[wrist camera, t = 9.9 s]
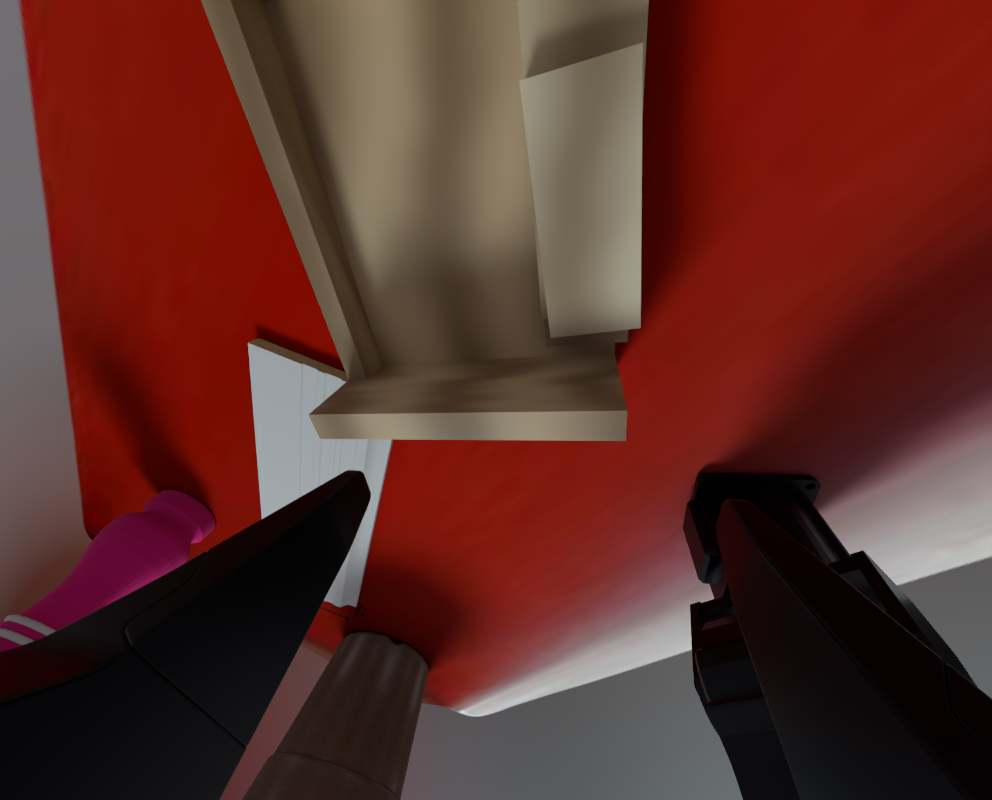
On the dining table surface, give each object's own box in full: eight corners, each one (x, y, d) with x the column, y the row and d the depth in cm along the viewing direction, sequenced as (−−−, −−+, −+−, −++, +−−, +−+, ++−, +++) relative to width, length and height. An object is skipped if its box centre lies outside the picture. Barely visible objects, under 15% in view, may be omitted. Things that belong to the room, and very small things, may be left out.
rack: (627, -184, 11) (678, -554, 5) (612, 371, 20) (625, 440, 15) (237, -33, 14) (32, -164, 9) (378, 380, 24) (319, 438, 18)
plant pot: (395, 614, 41) (303, 828, 27) (469, 683, 46) (424, 888, 33) (306, 626, 47) (197, 803, 34) (381, 685, 53) (313, 857, 40)
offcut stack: (651, -84, 11) (673, -161, 9) (630, 334, 18) (638, 358, 16) (519, -42, 12) (504, -100, 10) (546, 339, 19) (542, 363, 17)
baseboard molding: (426, 398, 25) (265, 334, 25) (409, 421, 22) (230, 350, 22) (371, 603, 42) (276, 566, 41) (358, 630, 39) (257, 590, 39)
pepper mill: (209, 541, 40) (-55, 797, 23) (149, 503, 38) (-184, 750, 22) (229, 517, 37) (-63, 798, 20) (165, 474, 35) (-218, 743, 18)
